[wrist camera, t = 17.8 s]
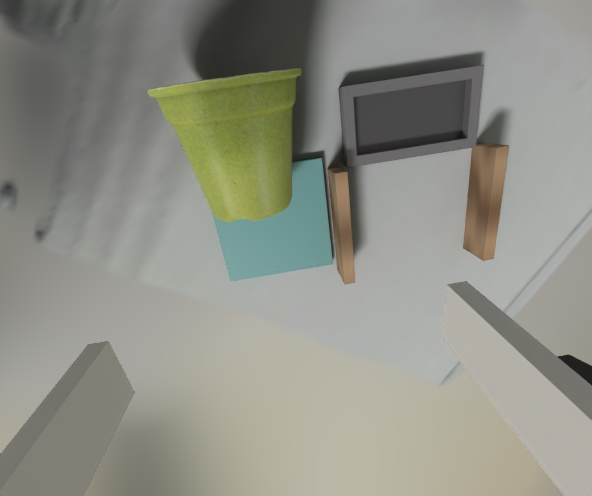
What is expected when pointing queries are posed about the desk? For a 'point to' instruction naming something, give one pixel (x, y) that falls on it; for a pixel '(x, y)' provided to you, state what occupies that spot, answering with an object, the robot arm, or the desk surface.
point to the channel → (479, 216)
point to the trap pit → (410, 116)
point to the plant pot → (237, 139)
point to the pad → (282, 231)
